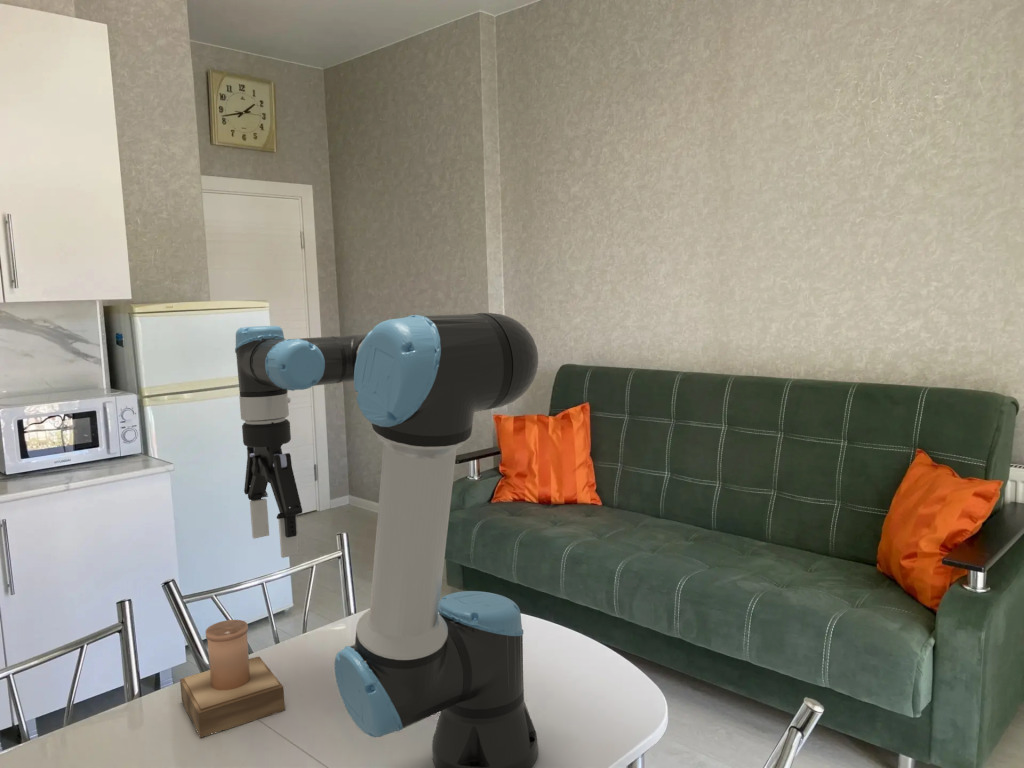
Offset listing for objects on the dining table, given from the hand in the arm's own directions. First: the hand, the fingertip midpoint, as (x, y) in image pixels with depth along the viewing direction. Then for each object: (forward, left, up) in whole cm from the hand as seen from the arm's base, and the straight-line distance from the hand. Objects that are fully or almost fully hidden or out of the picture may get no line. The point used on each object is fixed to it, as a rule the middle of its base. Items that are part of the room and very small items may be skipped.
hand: (275, 545), depth 129 cm
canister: (-1, +9, -21) cm, 22 cm away
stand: (-1, +9, -25) cm, 26 cm away
